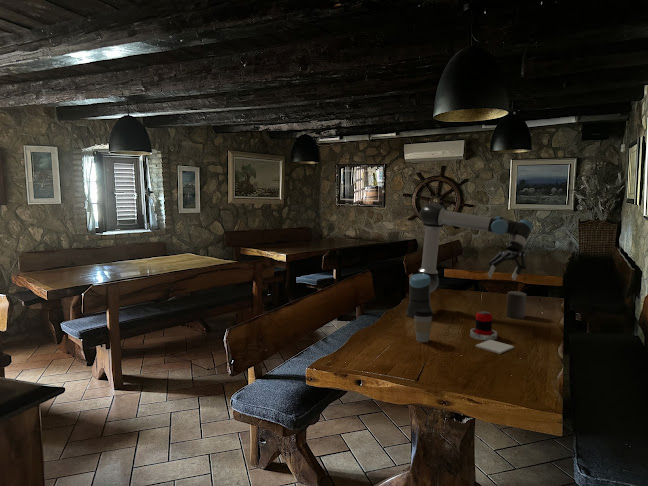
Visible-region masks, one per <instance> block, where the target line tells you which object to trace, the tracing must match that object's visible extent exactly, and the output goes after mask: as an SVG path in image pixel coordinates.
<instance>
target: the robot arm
mask: <svg viewBox="0 0 648 486" xmlns="http://www.w3.org/2000/svg"><path fill="white" fill-rule="evenodd" d="M419 217H420V220H421V221H422V222H423V223H422V224H423V227H424V228H425V229H424V239H423V248H422V250H423V251H422V260H421V267H420V268H419V269H418V273H415V274H412V275H410V277H409V300H408V301H409V302H408V305H407V308H406V311H405V312H406V314H407V315H408V316H407V315H406V316H407V317H410V318H414V315H413V312H414V310H415V309H417V308H427V309H430V310H431V311H432V313H433V314H434V311H433V309H432V305H431V293H432V292H434V291H436V289H437V288H438V287H439V284H440V279H439V271H438V270H437V263H438V262H437V261H438V252H439V243H440V234H441V229H443V228H444V225H447V226H448V225H449V226H453V227H454V226H455V227H457V228H464V229H465V228H466V229H470V230H477V231H483V232H488V233H493V234H496V235H504V234H509V235H511V238H510V239H509V242H508V243H507V246H506V250H505V251H502V250H499V251H498V253H496V255H494V257H493V258H492V259H491V260H489V261H488V262H487V264H488V265H489V267H488V272H487V277H488V278H489V279H491V278H492V276H493V274H494V272H495V270H496V267H497V266H499V265H500V264H502V263H503V262H506V261H515V263H516V266H515V269H514V270H513V273H512V275H511V279H512V280H513V281H516V279H517V277H518V275H520V274H521V271H522V270H523V269H524V270H526V269H527V263H526V253H525V252H524V251H523V249H524V247H525V246H526V243H527V241H528V239H529V237H530V236H531V235H530V234H531V233H532V230H533V227H534V226H533V223H532V222H531V221H530V220H528V219H520V220H519V221H515V220H512V219H508V218H506V217H504V216H500V215H497V216H495V217H487V216H483V215H476V214H475V215H474V214H469V213H465V212H464V213H463V212H458V211H451V210H450V211H449V210H446V208H445V207H444V206H443V205H442V204H439V203H428V204H425V205H424V206H422V207H421V209H420V212H419ZM519 257H520V261H521V263H520V261H519ZM414 319H415V318H414Z"/></svg>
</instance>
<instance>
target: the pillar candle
mask: <svg viewBox="0 0 648 486" xmlns="http://www.w3.org/2000/svg"><path fill="white" fill-rule="evenodd" d="M526 298H527V293H525V292H522V291H517V290H516V291H514V290H513V291H508V292H507V298H506V300H507V301H506V317H508V318H511V319H516V320H517V319H519V320H520V319H524V318H525V316H526V301H527V299H526Z"/></svg>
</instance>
